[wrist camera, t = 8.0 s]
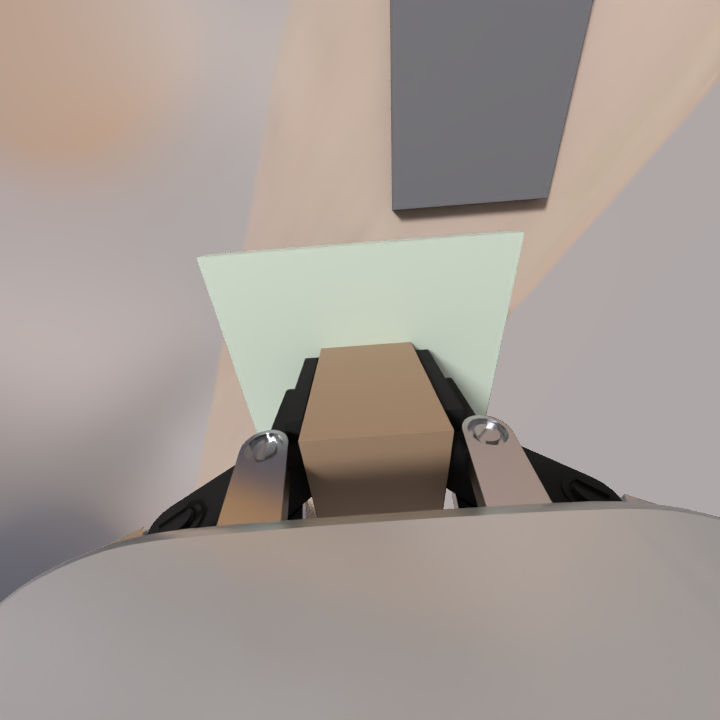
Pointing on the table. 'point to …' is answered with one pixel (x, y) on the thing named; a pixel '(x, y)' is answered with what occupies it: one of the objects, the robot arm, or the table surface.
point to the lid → (368, 353)
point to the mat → (480, 97)
